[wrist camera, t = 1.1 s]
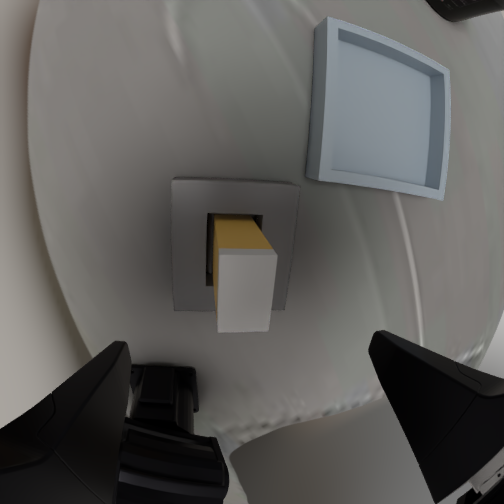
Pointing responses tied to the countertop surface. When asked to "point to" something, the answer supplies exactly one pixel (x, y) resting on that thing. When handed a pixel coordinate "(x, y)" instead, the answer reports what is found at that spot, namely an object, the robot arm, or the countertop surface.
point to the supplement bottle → (465, 8)
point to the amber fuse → (242, 274)
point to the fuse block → (235, 202)
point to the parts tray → (377, 113)
